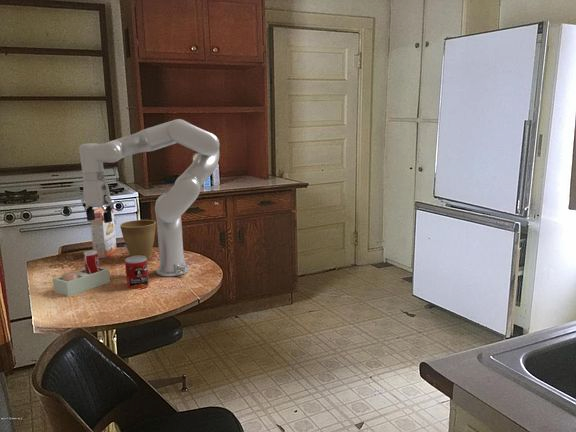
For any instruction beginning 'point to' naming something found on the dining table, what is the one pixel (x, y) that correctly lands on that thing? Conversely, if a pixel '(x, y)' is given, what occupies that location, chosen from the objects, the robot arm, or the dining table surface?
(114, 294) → the dining table surface
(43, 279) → the dining table surface
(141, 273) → the canned food
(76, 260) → the dining table surface
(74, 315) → the dining table surface
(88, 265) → the soda can
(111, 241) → the cracker box
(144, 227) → the plant pot
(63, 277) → the brown egg
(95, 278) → the caddy
